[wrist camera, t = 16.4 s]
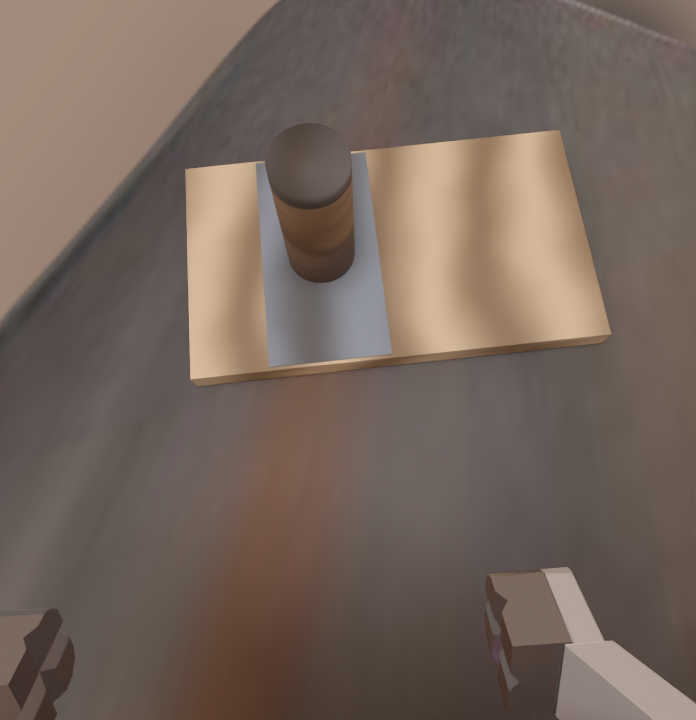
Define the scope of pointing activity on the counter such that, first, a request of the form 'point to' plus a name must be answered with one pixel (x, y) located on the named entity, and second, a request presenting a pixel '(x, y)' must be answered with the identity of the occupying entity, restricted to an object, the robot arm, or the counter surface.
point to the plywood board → (395, 264)
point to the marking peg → (313, 199)
